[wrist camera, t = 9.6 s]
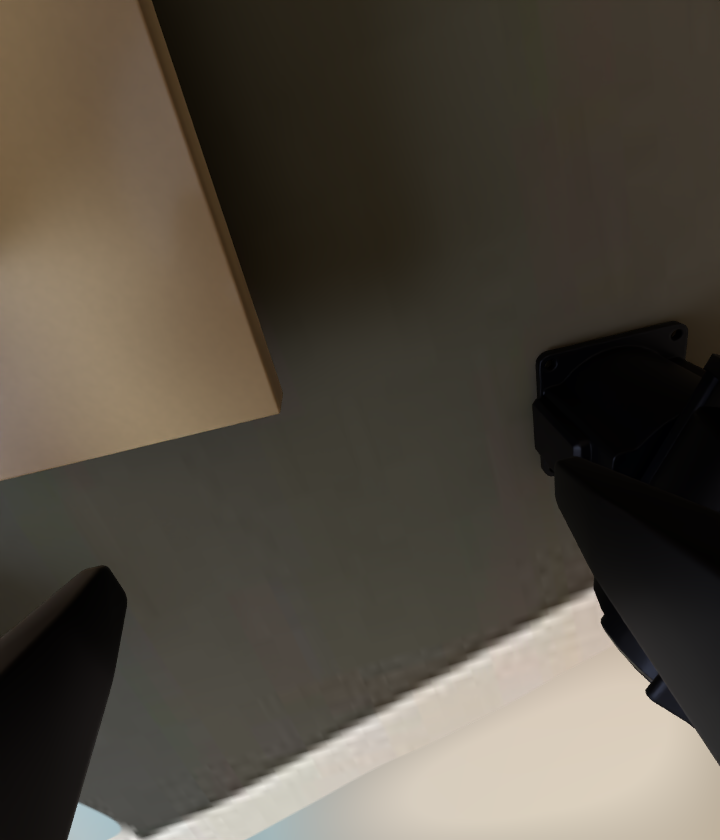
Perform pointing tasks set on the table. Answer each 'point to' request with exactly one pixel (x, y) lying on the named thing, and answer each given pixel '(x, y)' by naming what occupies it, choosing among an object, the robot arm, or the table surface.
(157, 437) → the board
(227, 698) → the table surface
